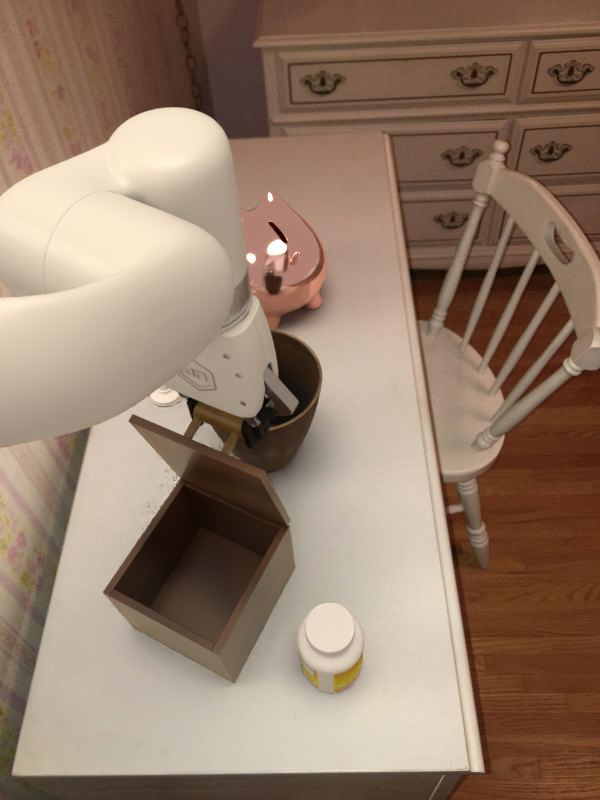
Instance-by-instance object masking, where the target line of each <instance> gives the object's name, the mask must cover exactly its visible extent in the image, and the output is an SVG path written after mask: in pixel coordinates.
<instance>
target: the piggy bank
mask: <svg viewBox="0 0 600 800" xmlns="http://www.w3.org/2000/svg"><path fill="white" fill-rule="evenodd" d="M240 213H241V220H242V227H243V235H244V242H245V250H246V257H247V262H248V269H249V276H250V283H251V291H252V295H254V296H255V297H257V298H258V300H259V302H260V304H261V306H262V309H263V311H264V314H265V317H266V319H267V322H268V325H269V328H270V329H273V330H278V328H279V327H280V324H281V321H282V317H283V316H284V315H287V314H289V313H292V312H295V311H296V310H299V309H300V308H303V307H306V309H309V310H317V309H318V308H320V307H321V306H322V304H323V301H322V296H321V294H320V290H321V288H322V286H323V284H324V281H325V278H326V276H327V270H328V259H327V254H326V253H327V252H326V249H325V246H324V244H323V241H322V239H321V238H320V236H319V234H318V233H317V231H316V230H315V229H314V228H313V226H312V225H311V224H310V223H309V222H308V221H307V220H306V219H305V218H304V217H303V216H302V215H300V213H298V212H297V211H296V210H295V209H293V208H292V207H291V206H290V205H289V204H288V203H287V202H286V201H285V200H284V199H283V198H282V197H281V196H280V195H279V194H278V193H277V192H275V191H274V190H271V189H268V190H266V191H265V192H264V194H263V195H262V197H261V198H260V201H259V203H258V204H257V205H256V206H255V207H253V208H251V209H248V210H246V209H245V208H242V207H240Z"/></svg>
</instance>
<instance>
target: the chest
mask: <svg viewBox="0 0 600 800" xmlns="http://www.w3.org/2000/svg"><path fill="white" fill-rule="evenodd" d="M295 569H296V562H295V553H294V547H293V540H292V532H291V525H290V524H289V525H288V526H285V525H283V524H281V523H279V522H277V521H274V520H272V519H270V518H268V517H266V516H263V515H261V514H259V513H257V512H255V511H252V510H250V509H248V508H246V507H244V506H241V505H239V504H237V503H235V502H233V501H230V500H228V499H226V498H224V497H222V496H219V495H217V494H215V493H213V492H211V491H208V490H206V489H204V488H202V487H200V486H197V485H195V484H193V483H191V482H189V481H186V480H184V479H182V478H179V480H178V481H177V483H176V484H175V486H174V487H173V489H171V492H170V493H169V494H168V496H167V498H166V499H165V501H164V502H163V504H162V505H161V507H160V508H159V509H158V511H157V512H156V514H155V515H154V517H153V518H152V519H151V521H150V523H149V524H148V525H147V527H146V528H145V530H144V531H143V533H142V534H141V535H140V537H139V538H138V539H137V541H136V543H135V544H134V546H133V547H132V548H131V550H130V551H129V553H128V554H127V555H126V557H125V559H124V560H123V561H122V563H121V564H120V566H119V568H118V569H117V571H116V572H115V574H113V576H112V578H111V579H110V581H109V582H108V583H107V585H106V586H105V588H104V590H103V591H102V594H103V595H104V596H105V597H106V598H107V599H108V600H109V602H110V603H111V604H112V605H113V606H114V608H115V609H116V610H117V612H118V613H120V614H121V616H122V617H123V618H124V619H125V620H126V622H127V623H128V624H129V625H130V627H132V628H133V629H135V630H136V631H138V632H139V633H142V634H144V635H145V636H147V637H149V638H151V639H153V640H155V641H156V642H159V644H162V645H163V646H165V647H167V648H169V649H171V650H173V651H174V652H176V653H178V654H180V655H182V656H183V657H185V658H187V659H189V660H191V661H192V662H195V663H196V664H198V665H200V666H201V667H204V668H205V669H207V670H209V671H211V672H213V673H214V674H216V675H217V676H220V677H222V678H224V679H225V680H227V681H229V682H231V683H232V684H235V683H236V682H237V679H238V678H239V676H240V674H241V672H242V670H243V668H244V667H245V664H246V662H247V660H248V658H249V657H250V654H251V653H252V651H253V649H254V647H255V645H256V643H257V642H258V640H259V638H260V635H262V632H263V630H264V629H265V627H266V624H267V622H268V621H269V619H270V617H271V614H273V613H272V612H273V611H274V609H275V608H276V605H277V603H278V601H279V599H280V597H281V596H282V594H283V592H284V590H285V588H286V586H287V584H288V583H289V581H290V578H291V577H292V575H293V573H294V571H295Z"/></svg>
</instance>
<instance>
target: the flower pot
mask: <svg viewBox="0 0 600 800" xmlns="http://www.w3.org/2000/svg"><path fill="white" fill-rule="evenodd" d="M270 332H271V335H272V339H273V343H274V348H275V352H276V358H277V365H278V378H279V379H280V381H281V382H282V383H283V384H284V385H285V386H286V387H287V388H288V390H289V391H290V392H291V393H292V394H293V395H294V396H295V397H296V399H297V400H298V401H299V404H298V406H297V407H296V409H295V410H294V412H293V414H292V415H286V416H279V415H278V416H276V417H275V418H274V419H271V420H269V425H270V428H269V431H268V434H267V435H266V437H265V438H264V439H263V440H261V439H259V441H258V442H257V444H256V445H255V447H254V448H253V449H250V448H248V447H247V445H246V444H245V440H244V437H242V438H241V437H240V438H239V440H238V441H237V443H236V445H235V447H234V449H233V451H232V452H231V454H233V455H234V456H235V457H236V458H237V459H239V460H241V461H243V462H246V463H248V464H250V465H253V466H255V467H257V468H260V469H262V470H264V471H265V472H266V473H270V472H275V471H279V470H280V469H283V468H284V467H286V466H287V465H288V464H289V463H290V462H291V461H292V460H293V458H294V457H295V455H296V454H297V452H298V451H299V450H300V448H301V446H302V444H303V443H304V442H305V439H306V437H307V435H308V432H309V430H310V428H311V426H312V423H313V420H314V417H315V414H316V411H317V408H318V405H319V400H320V397H321V396H320V395H321V391H322V385H323V369H322V365H321V362H320V360H319V358H318V355H317V354H316V353H315V351H314V350H313V348H311V346H310V345H308V344H307V343H306V342H305V341H303V340H302V339H300V338H299V337H297V336H295V335H293V334H291V333H288V332H285V331H283V330H279V329H275V330H273V329H270ZM210 427H211V428H212V430H213V431H214V433H215V434H216V435H217V436H218V438H219V440H220V441H221V442H222V444H224V445H225V443H226V442H227V440H228V438H229V436H230V434H231V433H229V432H226V431H224V430H222V429H219V428H217V427H214V426H212V425H210Z"/></svg>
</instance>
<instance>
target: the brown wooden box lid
mask: <svg viewBox="0 0 600 800" xmlns="http://www.w3.org/2000/svg"><path fill="white" fill-rule="evenodd" d="M193 416H194V418H193V420H192V419H191V421H190V423H189V424H188V426H187V429H186V430H185V432H184V433H183V434H181V433H178V432H176V431H174V430H171V429H169V428H166V427H164V426H163V425H160V424H157V423H155V422H153V421H150V420H148V419H146V418H145V417H141V416H139V415H136V414H134V413H132V414H131V416H130V417H129V419H128V423H129V424H130V425H131V426H132V427H133V428H134V429H135V430H136V432H137V433H138V434H139V435H140V436H141V437H142V438H143V439H144V440H145V441H146V442H147V443H148V444H149V446H150V447H151V448H152V449H153V450H154V451H155V453H157V455H158V456H159V457H160V458H161V459H162V460H163V461H164V462H165V463H166V464H167V466H168V467H169V468H170V469H171V470H172V471H173V472H174V473H175V474H176V475H177V476H178V478H179V479H181V478H182V479H184V480H186V481H189V482H191V483H193V484H195V485H197V486H200V487H202V488H204V489H206V490H208V491H211V492H213V493H215V494H217V495H219V496H222V497H224V498H226V499H228V500H230V501H233V502H235V503H237V504H239V505H241V506H244V507H246V508H248V509H250V510H252V511H255V512H257V513H259V514H261V515H263V516H266V517H268V518H270V519H272V520H274V521H277V522H279V523H281V524H283V525H285V526H288V525H290V523H291V521H292V519H291V517H290V515H289V514H288V512H287V510H286V507H285V506H284V504H283V502H282V501H281V498H280V497H279V495H278V493H277V491H276V489H275V488H274V486H273V484H272V482H271V479H270V478H269V476H268V474H267V472H265V471H264V470H262V469H260V468H257V467H255V466H253V465H250V464H248V463H246V462H243V461H241V460H240V459H239V458H238V457H234V456H232V455H231V454H232V451H233V449H234V447H235V445H236V443H237V441H238V440H239V438H240V437H241V438H242V437H244V435H243V430H242V422H243V421H244V419H245V418H244V417H239V416H236V415H233V414H230V413H228V412H225V411H223V410H220V409H218V408H215V407H212V406H210V405H208V404H205V403H203V402H200V401H198V402H197V404H196V405H195V408H194V411H193ZM202 422H204V423H205V424H208V425H210V426H211V425H212V426H214V427H217V428H219V429H222V430H224V431H226V432H229V433H231V434H230V436H229V438H228V440H227V442H226V443H225V444H224V445H223V446H222V449H221V450H218V449H216V448H213V447H211V446H208V445H207V444H205V443H202V442H199V441H197V440H195V439H194V437H195V435H196V433H197V431H198V430H199V428H200V427H201V426H200V425H201V423H202Z"/></svg>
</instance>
